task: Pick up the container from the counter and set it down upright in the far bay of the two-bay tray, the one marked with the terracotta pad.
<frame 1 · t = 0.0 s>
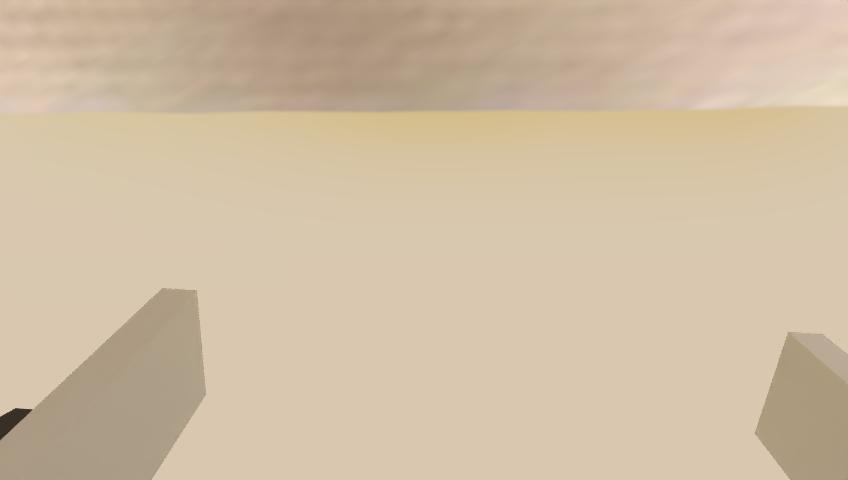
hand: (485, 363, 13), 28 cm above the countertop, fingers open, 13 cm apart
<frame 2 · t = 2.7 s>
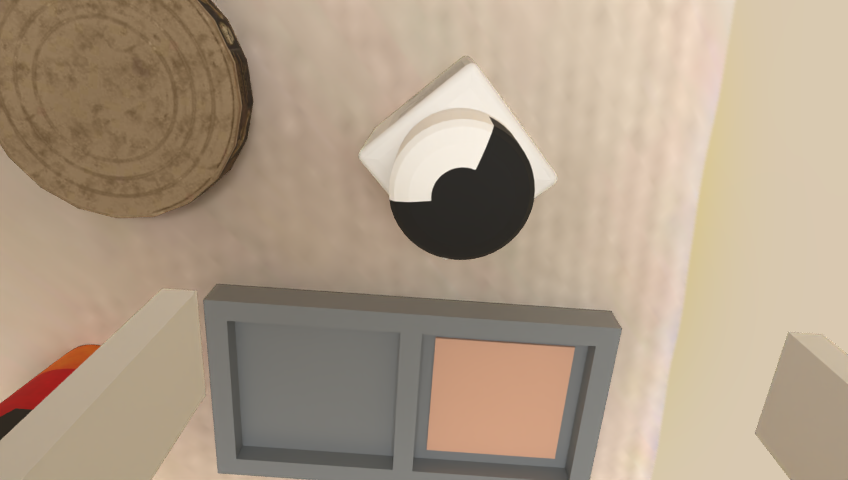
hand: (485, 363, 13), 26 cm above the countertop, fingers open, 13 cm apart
brown disc: (132, 86, 37), on the countertop
container: (454, 140, 37), on the countertop
two-bay tray: (408, 385, 44), on the countertop
paper cup: (100, 373, 44), on the countertop
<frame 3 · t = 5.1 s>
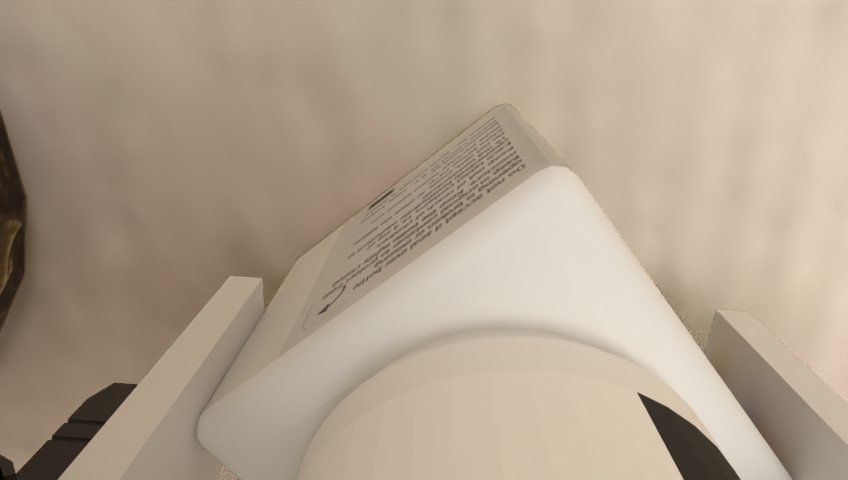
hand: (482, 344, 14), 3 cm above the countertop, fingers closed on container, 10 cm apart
container: (474, 280, 17), on the countertop, touching gripper
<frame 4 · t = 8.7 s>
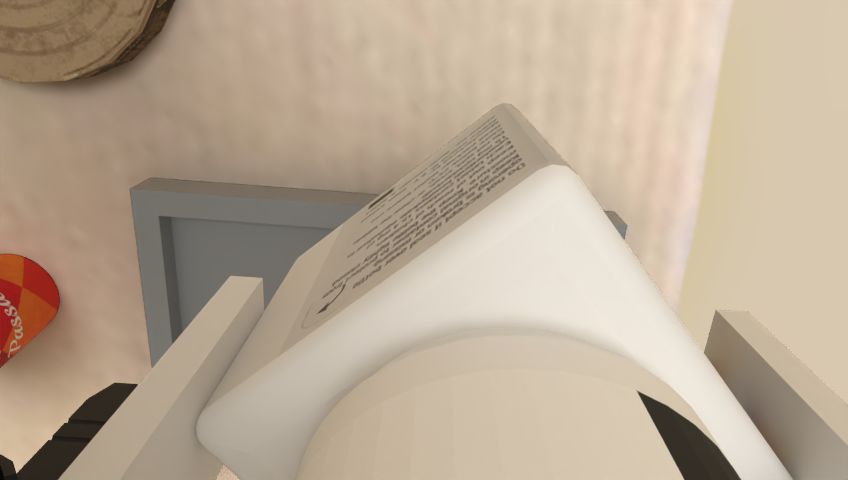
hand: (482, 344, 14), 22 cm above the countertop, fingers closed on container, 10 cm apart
container: (474, 279, 17), point 18 cm above the countertop, touching gripper
two-bay tray: (378, 303, 37), on the countertop
paper cup: (19, 289, 38), on the countertop
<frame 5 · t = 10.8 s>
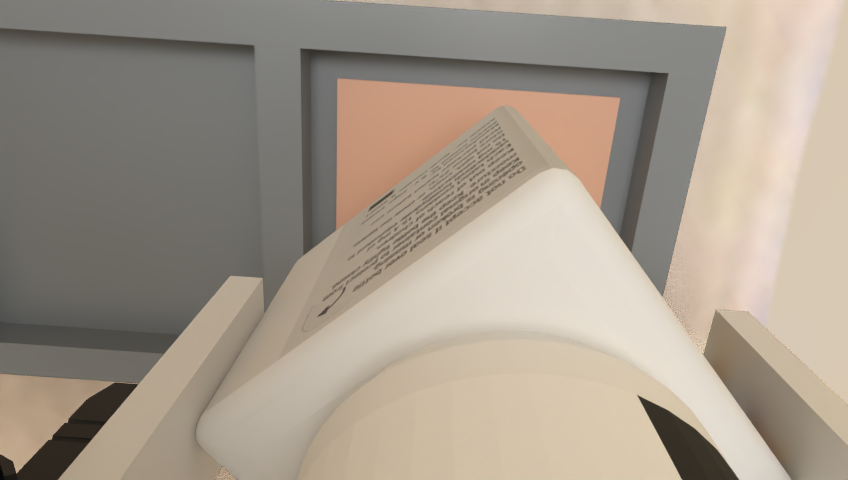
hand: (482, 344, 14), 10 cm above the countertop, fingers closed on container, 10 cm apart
container: (474, 281, 17), point 6 cm above the countertop, touching gripper
two-bay tray: (298, 200, 23), on the countertop
when the fingers open (6 cm above the countertop, at t = 12.7 s): container drops 1 cm, resting on two-bay tray.
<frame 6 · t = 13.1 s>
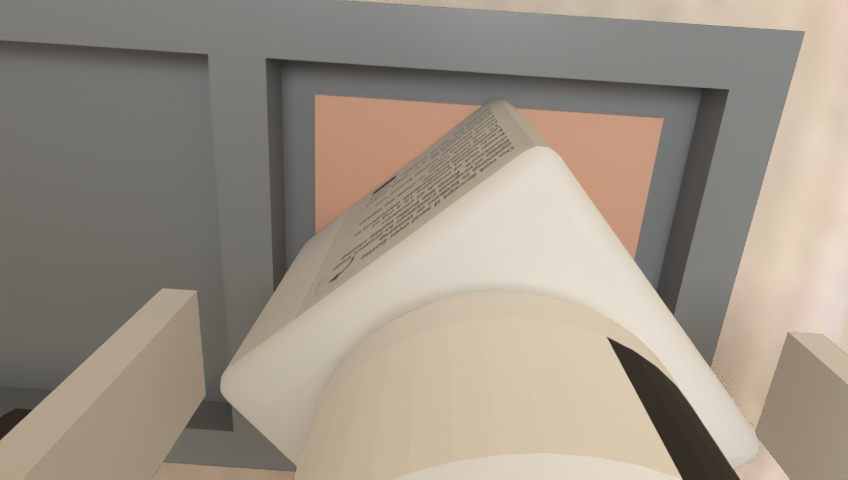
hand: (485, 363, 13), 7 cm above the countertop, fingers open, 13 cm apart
container: (471, 262, 18), point 1 cm above the countertop, touching two-bay tray
two-bay tray: (271, 238, 19), on the countertop
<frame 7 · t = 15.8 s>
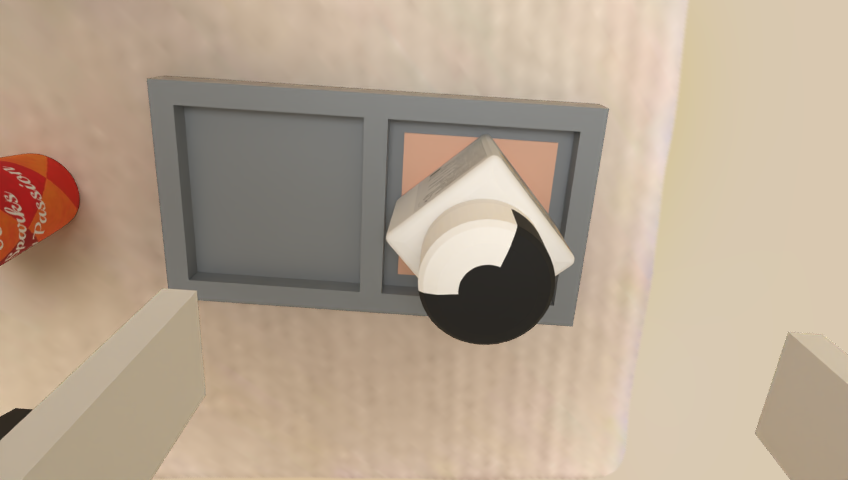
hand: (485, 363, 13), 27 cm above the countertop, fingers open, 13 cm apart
container: (473, 209, 39), point 1 cm above the countertop, touching two-bay tray
two-bay tray: (377, 200, 40), on the countertop
paper cup: (43, 190, 41), on the countertop
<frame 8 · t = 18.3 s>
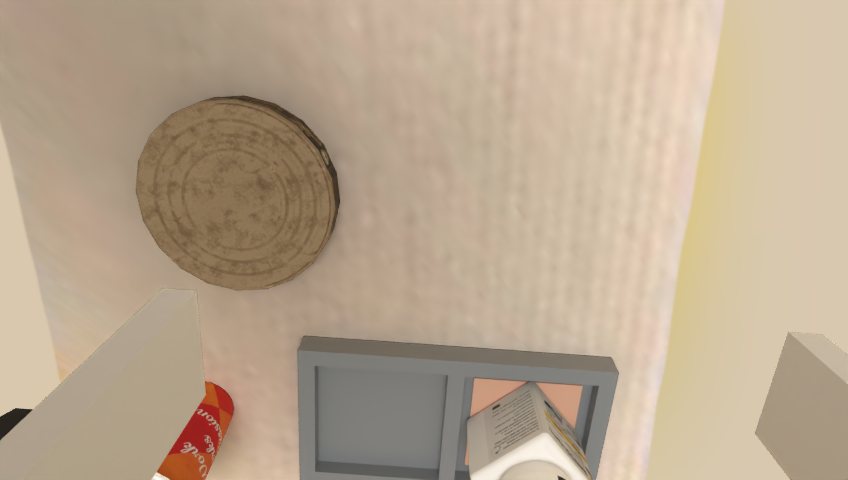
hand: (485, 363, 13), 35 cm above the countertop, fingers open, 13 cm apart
brown disc: (247, 190, 48), on the countertop
container: (521, 424, 54), point 1 cm above the countertop, touching two-bay tray
two-bay tray: (450, 413, 55), on the countertop
paper cup: (206, 403, 56), on the countertop
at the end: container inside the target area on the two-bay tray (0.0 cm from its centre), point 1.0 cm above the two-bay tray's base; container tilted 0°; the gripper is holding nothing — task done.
